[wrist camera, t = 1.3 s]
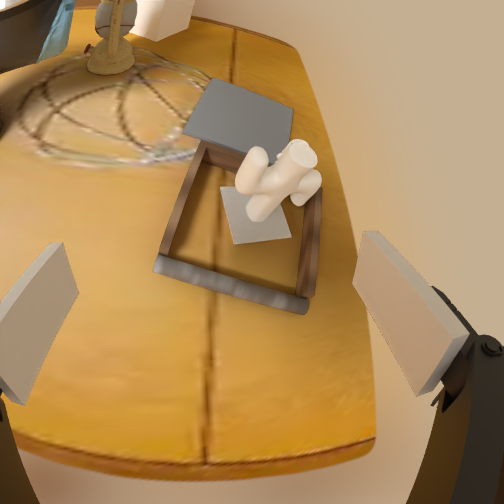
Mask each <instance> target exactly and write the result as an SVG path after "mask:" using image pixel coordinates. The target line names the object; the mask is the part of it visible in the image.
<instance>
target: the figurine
mask: <svg viewBox="0 0 504 504" xmlns="http://www.w3.org/2000/svg"><path fill="white" fill-rule="evenodd" d="M277 159H278V160H277V161H276V162H275V164H273V165H272V166H270V167H267V166H268V163H269V159H268V155H267V153H266V151H265V150H264V149H263V148H261V147H259V146H255V147H253V148H251V149H250V150H249V152H248V154H247V155H246V157H245V159H244V161H243V162H242V164H241V166H240V168H239V170H238V172H237V174H236V178H235V186H229V187H220V191H221V195H222V199H223V204H224V208H225V212H226V216H227V220H228V224H229V228H230V232H231V235H232V239H233V243H234V244H235V245H236V244H244V243H252V242H259V241H267V240H275V239H283V238H291V237H292V236H291V233H290V230H289V227H288V224H287V221H286V218H285V215H284V212H283V209H282V206H281V202H282V200H283V199H284V198H285V197H287V196H288V195H290V198H291V201H292V202H293V204H295V205H296V206H302V205H303V204H304V203H305V202H306V201H307V200H308V199H309V198H310V197H311V196H313V195H314V194H315V192H316V191H317V190H318V189H319V187H320V186H321V183H322V177H321V174H320V173H319V172H318V171H317V170H315V169H313V168H314V167H315V166H316V165H317V162H318V159H317V155H316V153H315V152H314V150H313V149H312V148H311V147H309V144H308V143H307V142H306V141H304V140H301V139H294V140H292V141H291V142H289V144H288V145H287V146H286V148H285V149H284V150H282V153H279V154H278V155H277Z"/></svg>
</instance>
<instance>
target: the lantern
mask: <svg viewBox="0 0 504 504" xmlns="http://www.w3.org/2000/svg"><path fill="white" fill-rule="evenodd" d="M137 5H138V4H137V1H136V0H101V3H100V5H99V6H98V9H97V12H96V16H95V30H96V32H97V34H99V36H100V37H102V38H104V39H102V40H101V41H100V42H99V43H98V44H97V45H96V46H95V47H93V46H91V44H88V45H87V47H86V48H85V51H84V53H87V52H89V53H91V58H90V59H89V61H88V63H87V68H88V70H89V71H91V72H93V73H95V74H101V75H111V74H117V73H121V72H124V71H126V70H128V69H129V68H130V67H131V66H133V64H134V62H135V57H134V55H133V54H132V50H133V48H132V46H131V45H130V43H129V42H128V41H127V40H126V39H125V38H123V36H125V35H127V34H128V33H129V31H130V30H131V29H132V28H133V27H134V26H135V25H134V24H135V19H136V16H137Z"/></svg>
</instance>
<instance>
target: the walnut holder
mask: <svg viewBox="0 0 504 504" xmlns="http://www.w3.org/2000/svg"><path fill="white" fill-rule="evenodd" d="M245 157H246V155H243V154H241V153H238V152H235V151H233V150H230V149H227V148H224V147H222V146H219V145H216V144H213V143H210V142H208V141H205V140H202V139H201V142H200V144H199V146H198V148H197V151H196V153H195V155H194V158H193V160H192V163H191V165H190V167H189V170H188V172H187V175H186V177H185V180H184V182H183V185H182V187H181V190H180V192H179V195H178V198H177V200H176V203H175V206H174V208H173V211H172V214H171V216H170V219H169V222H168V225H167V227H166V230H165V233H164V236H163V239H162V242H161V245H160V248H159V253H158V256H157V258H156V262H155V265H154V269H153V272H155V273H158V274H161V275H165V276H168V277H171V278H174V279H177V280H180V281H184V282H187V283H190V284H193V285H197V286H200V287H203V288H207V289H210V290H213V291H217V292H220V293H224V294H227V295H230V296H234V297H237V298H241V299H245V300H248V301H252V302H255V303H259V304H263V305H266V306H270V307H274V308H277V309H281V310H285V311H289V312H293V313H297V314H300V315H305V314H306V313H307V311H308V309H309V300H308V298H310V297H312V296H314V295H315V287H316V276H317V265H318V253H319V239H320V224H321V207H322V187H319V189H318V190H317V191H316V192H315V194H314V195H313V196H311V197H310V198H309V199H308V200H307V201H306V202H305V213H304V223H303V233H302V242H301V252H300V261H299V269H298V277H297V286H296V293H295V295H291V294H288V293H284V292H281V291H277V290H274V289H270V288H267V287H264V286H260V285H257V284H254V283H250V282H247V281H244V280H240V279H237V278H234V277H230V276H227V275H224V274H221V273H217V272H214V271H211V270H208V269H204V268H201V267H198V266H195V265H192V264H189V263H185V262H182V261H179V260H176V259H173V258H170V257H167V256H168V253H169V250H170V247H171V244H172V241H173V238H174V235H175V232H176V229H177V226H178V223H179V220H180V217H181V214H182V211H183V209H184V206H185V203H186V200H187V197H188V195H189V192H190V189H191V187H192V184H193V181H194V179H195V176H196V173H197V171H198V168H199V166H200V163H201V161H203V162H206V163H209V164H211V165H214V166H217V167H220V168H223V169H225V170H228V171H231V172H234V173H236V174H237V172H238V170H239V168H240V166H241V164H242V162H243V161H244V159H245ZM270 166H271V165H269V164H268V166H267V167H270Z"/></svg>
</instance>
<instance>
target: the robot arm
mask: <svg viewBox="0 0 504 504" xmlns="http://www.w3.org/2000/svg"><path fill="white" fill-rule="evenodd" d="M75 2H76V0H0V74H2V73H5V72H8V71H11V70H14V69H17V68H20V67H24V66H27V65H31V64H34V63H35V64H37V63H39V62H40V61H42V60H45V59H48V58H52V57H55V56H57V55H59V54H60V53H62V52H63V51H64V50H65V48H66V47H67V44H68V39H69V33H70V28H71V22H72V17H73V11H74V6H75ZM3 123H4V114H3V111H2V108H1V105H0V132H1V130H2V127H3ZM352 285H353V286H354V288H355V289H356V291H357V293H358V294H359V296H360V298H361V299H362V301H363V302H364V304H365V306H366V307H367V309H368V311H369V312H370V314H371V316H372V318H373V319H374V321H375V323H376V324H377V326H378V328H379V330H380V331H381V333H382V335H383V337H384V338H385V340H386V342H387V344H388V345H389V347H390V349H391V351H392V352H393V354H394V356H395V358H396V360H397V362H398V363H399V365H400V367H401V369H402V371H403V373H404V374H405V377H406V378H407V380H408V382H409V384H410V386H411V388H412V390H413V392H414V394H415V395H416V397H417V396H419V395H422V394H425V393H428V392H431V391H433V390H434V388H435V387H436V386H437V384H438V383H439V381H440V380H441V381H442V383H443V385H444V387H443V389H442V390H441V391H440V392H439V394H438V395H437V396H436V398H435V399H434V400H433V402H432V404H431V406H434V405H435V404H436V402H437V401H438V400H439V402H438V406H437V411H436V415H435V419H434V424H433V427H432V431H431V435H430V438H429V442H428V445H427V448H426V451H425V455H424V458H423V461H422V464H421V467H420V469H419V473H418V475H417V478H416V480H415V483H414V485H413V488H412V490H411V493H410V496H409V498H408V500H407V503H406V504H504V346H502V345H501V344H500V342H499V341H498V340H496V339H495V338H493V337H491V336H489V335H478V334H477V333H476V332H475V330H474V329H473V328H472V327H471V325H470V324H469V323H468V321H467V320H466V319H465V318H464V317H463V316H462V314H461V313H460V312H459V311H457V308H456V307H455V306H454V305H453V304H451V301H450V300H449V299H448V298H447V297H446V295H445V294H444V293H443V292H441V291H440V290H438V289H437V288H435V287H434V286H430V285H429V284H428V283H427V282H426V281H425V279H424V278H423V277H422V276H421V275H420V274H419V273H418V272H417V271H416V269H415V268H414V267H413V266H412V265H411V264H410V263H409V262H408V261H407V260H406V259H405V258H404V257H403V256H402V255H401V254H400V253H399V252H398V251H397V249H396V248H395V247H393V245H392V244H391V243H390V242H389V241H388V240H387V239H386V238H385V237H384V236H383V235H382V234H381V233H380V232H378V231H363V235H362V240H361V245H360V250H359V255H358V259H357V264H356V269H355V273H354V277H353V282H352ZM78 295H79V291H78V288H77V285H76V282H75V280H74V277H73V274H72V271H71V268H70V264H69V261H68V258H67V255H66V251H65V248H64V244H63V242H61V243H50V244H49V245H48V246H47V247H46V248H45V249H44V250H43V252H42V253H41V254H40V255H39V256H38V257H37V258H36V259H35V260H34V262H33V263H32V264H31V265H30V266H29V267H28V268H27V270H26V271H25V272H24V273H23V274H22V276H21V277H20V278H19V279H18V280H17V282H16V283H15V284H14V285H13V287H12V288H11V289H10V290H9V292H8V293H7V294H6V295H5V297H4V298H3V299H2V301H1V302H0V396H1V394H2V391H3V392H4V394H5V395H6V396H7V397H8V398H9V399H10V401H12V402H15V403H18V404H21V405H24V406H25V405H26V402H27V400H28V397H29V395H30V392H31V390H32V387H33V385H34V382H35V380H36V378H37V375H38V373H39V371H40V369H41V366H42V364H43V362H44V360H45V358H46V356H47V353H48V351H49V349H50V347H51V345H52V343H53V341H54V339H55V337H56V335H57V333H58V331H59V329H60V327H61V325H62V323H63V322H64V320H65V318H66V316H67V314H68V312H69V311H70V309H71V307H72V305H73V303H74V302H75V300H76V298H77V296H78ZM0 504H40V503H39V501H38V499H37V497H36V495H35V493H34V490H33V488H32V486H31V484H30V481H29V479H28V476H27V474H26V471H25V469H24V467H23V464H22V461H21V458H20V455H19V453H18V450H17V447H16V443H15V440H14V437H13V434H12V430H11V427H10V423H9V419H8V415H7V411H6V407H5V404H4V401H3V400H2V399H1V397H0Z"/></svg>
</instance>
